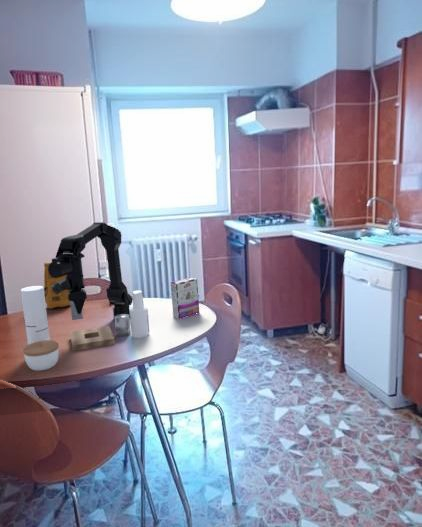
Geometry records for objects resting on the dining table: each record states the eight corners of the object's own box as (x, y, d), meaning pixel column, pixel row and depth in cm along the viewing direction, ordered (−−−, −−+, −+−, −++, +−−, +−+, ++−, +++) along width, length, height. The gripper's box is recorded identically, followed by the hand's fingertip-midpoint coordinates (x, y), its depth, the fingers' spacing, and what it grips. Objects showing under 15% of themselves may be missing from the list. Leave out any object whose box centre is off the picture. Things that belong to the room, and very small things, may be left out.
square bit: (82, 315, 161) (80, 295, 160) (82, 318, 158) (80, 297, 156) (72, 317, 160) (69, 296, 158) (72, 320, 156) (69, 299, 155)
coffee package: (45, 304, 213) (39, 261, 209) (70, 300, 218) (65, 258, 214) (47, 309, 204) (41, 265, 200) (73, 305, 210) (68, 261, 205)
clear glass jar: (129, 332, 169) (127, 313, 168) (132, 336, 164) (130, 317, 163) (115, 334, 167) (113, 315, 166) (117, 339, 162) (115, 319, 161)
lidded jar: (26, 365, 142) (22, 339, 140) (59, 359, 146) (56, 333, 145) (26, 378, 133) (22, 350, 131) (62, 371, 137) (59, 344, 135)
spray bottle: (152, 334, 166) (149, 289, 163) (144, 340, 160) (140, 294, 156) (137, 332, 168) (133, 288, 165) (128, 339, 162) (124, 293, 158)
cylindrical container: (33, 354, 152) (24, 286, 147) (54, 352, 152) (46, 285, 147) (27, 362, 145) (17, 291, 140) (48, 361, 145) (39, 290, 140)
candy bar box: (193, 312, 191) (191, 276, 188) (199, 314, 187) (198, 278, 184) (172, 318, 184) (170, 281, 181) (178, 320, 180) (176, 283, 177)
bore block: (109, 333, 169) (109, 325, 169) (115, 346, 156) (114, 338, 155) (71, 339, 164) (70, 332, 164) (73, 353, 151) (72, 345, 150)
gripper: (51, 269, 162) (56, 308, 165) (50, 279, 144) (56, 323, 147) (82, 266, 165) (86, 304, 168) (84, 276, 148) (89, 318, 151)
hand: (79, 312), depth 159 cm, fingers closed on square bit, 4 cm apart
